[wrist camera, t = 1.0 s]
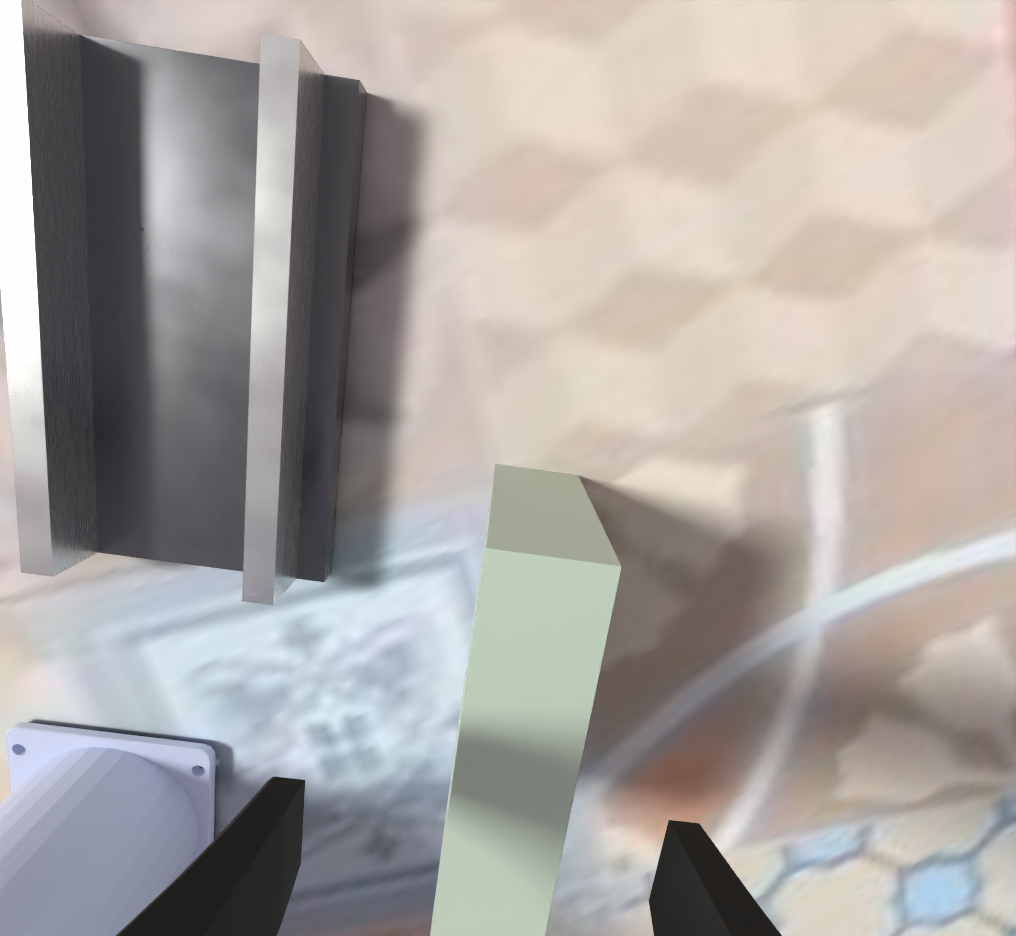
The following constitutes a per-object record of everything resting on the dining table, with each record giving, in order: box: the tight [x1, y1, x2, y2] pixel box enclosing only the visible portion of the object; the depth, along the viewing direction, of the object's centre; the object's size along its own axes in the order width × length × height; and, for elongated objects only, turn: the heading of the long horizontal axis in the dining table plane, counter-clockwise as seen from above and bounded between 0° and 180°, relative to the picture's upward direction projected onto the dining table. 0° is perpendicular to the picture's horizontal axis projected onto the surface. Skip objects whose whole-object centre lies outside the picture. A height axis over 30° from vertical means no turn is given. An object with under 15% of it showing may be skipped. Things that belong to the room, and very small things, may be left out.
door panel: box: [430, 464, 622, 936], centre depth 17 cm, size 12×3×8 cm, turn 172°
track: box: [0, 0, 366, 605], centre depth 17 cm, size 10×16×3 cm, turn 172°
